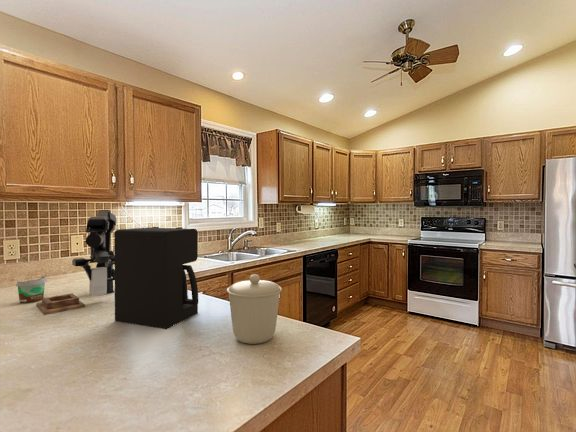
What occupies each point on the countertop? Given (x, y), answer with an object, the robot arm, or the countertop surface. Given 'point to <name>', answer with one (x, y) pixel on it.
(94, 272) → the skincare box
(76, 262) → the robot arm
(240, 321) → the canister
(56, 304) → the frame
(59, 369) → the countertop surface
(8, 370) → the countertop surface
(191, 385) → the countertop surface
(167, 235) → the coffee maker
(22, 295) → the food container
